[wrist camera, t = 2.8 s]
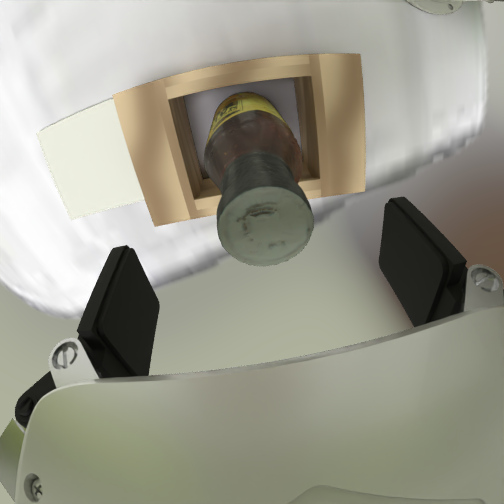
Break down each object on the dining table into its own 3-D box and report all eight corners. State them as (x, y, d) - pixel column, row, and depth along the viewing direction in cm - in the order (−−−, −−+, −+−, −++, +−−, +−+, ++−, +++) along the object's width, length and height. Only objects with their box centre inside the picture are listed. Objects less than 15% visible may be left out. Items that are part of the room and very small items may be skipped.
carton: (331, 54, 23) (360, 53, 18) (340, 164, 31) (364, 191, 25) (137, 86, 24) (112, 95, 18) (167, 193, 31) (154, 226, 26)
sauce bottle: (224, 83, 25) (213, 118, 9) (284, 101, 26) (371, 172, 10) (206, 142, 28) (176, 266, 13) (263, 158, 30) (305, 292, 14)
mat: (127, 93, 24) (124, 94, 23) (157, 193, 31) (155, 197, 31) (40, 130, 25) (36, 133, 24) (74, 216, 32) (71, 220, 31)
